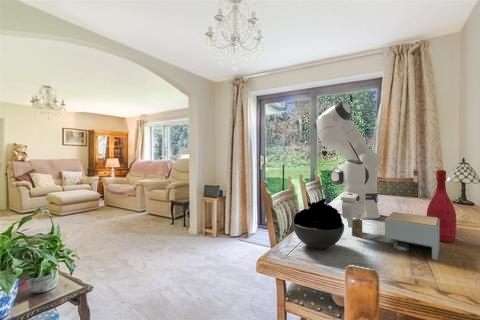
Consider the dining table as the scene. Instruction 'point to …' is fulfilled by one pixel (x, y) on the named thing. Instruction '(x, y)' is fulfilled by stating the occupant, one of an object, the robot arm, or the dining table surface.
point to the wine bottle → (443, 210)
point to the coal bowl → (318, 225)
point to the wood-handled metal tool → (358, 233)
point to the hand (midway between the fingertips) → (354, 224)
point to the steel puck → (401, 247)
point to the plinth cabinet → (414, 230)
